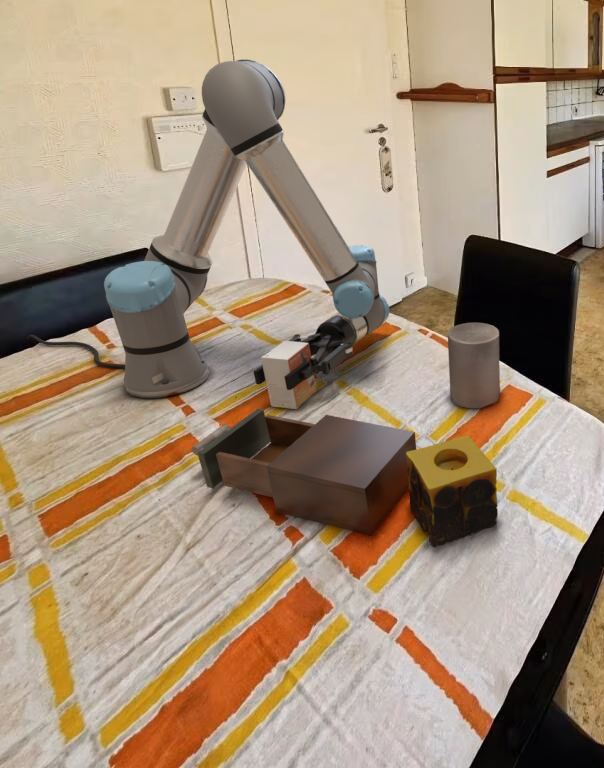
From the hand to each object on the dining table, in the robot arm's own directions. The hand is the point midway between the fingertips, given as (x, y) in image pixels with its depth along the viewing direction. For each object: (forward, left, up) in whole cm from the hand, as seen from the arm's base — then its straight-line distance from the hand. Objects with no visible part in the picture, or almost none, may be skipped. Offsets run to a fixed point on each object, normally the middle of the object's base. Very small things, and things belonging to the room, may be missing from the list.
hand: (271, 380), depth 114 cm
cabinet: (+26, -17, -7) cm, 32 cm away
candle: (+43, -17, -7) cm, 47 cm away
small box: (0, +5, -7) cm, 9 cm away
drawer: (+10, -17, -6) cm, 20 cm away
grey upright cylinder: (+33, +17, -7) cm, 38 cm away
